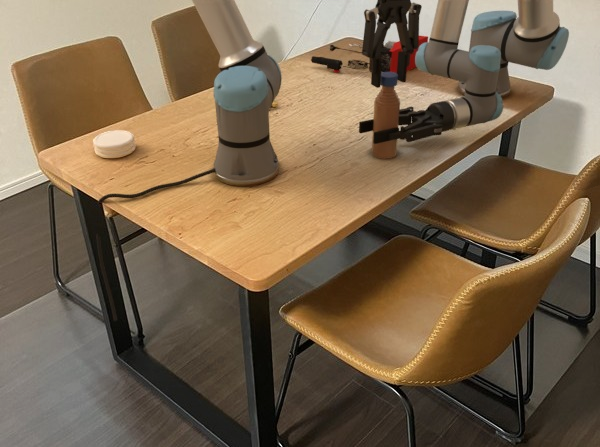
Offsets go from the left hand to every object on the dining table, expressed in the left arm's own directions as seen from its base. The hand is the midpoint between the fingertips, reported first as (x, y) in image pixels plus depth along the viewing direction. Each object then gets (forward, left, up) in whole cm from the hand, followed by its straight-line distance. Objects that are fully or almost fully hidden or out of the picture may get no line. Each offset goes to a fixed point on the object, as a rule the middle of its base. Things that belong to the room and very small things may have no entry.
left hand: (388, 82), depth 143 cm
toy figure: (-3, +47, -18) cm, 50 cm away
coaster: (-49, +46, -18) cm, 70 cm away
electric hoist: (+46, +50, -18) cm, 70 cm away
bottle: (0, 0, -18) cm, 18 cm away
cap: (0, 0, +2) cm, 2 cm away
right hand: (-5, +1, -11) cm, 13 cm away
